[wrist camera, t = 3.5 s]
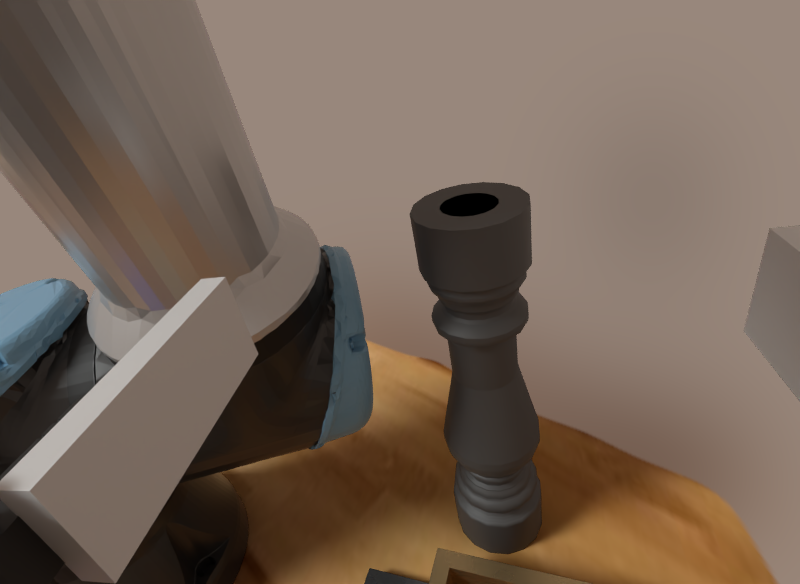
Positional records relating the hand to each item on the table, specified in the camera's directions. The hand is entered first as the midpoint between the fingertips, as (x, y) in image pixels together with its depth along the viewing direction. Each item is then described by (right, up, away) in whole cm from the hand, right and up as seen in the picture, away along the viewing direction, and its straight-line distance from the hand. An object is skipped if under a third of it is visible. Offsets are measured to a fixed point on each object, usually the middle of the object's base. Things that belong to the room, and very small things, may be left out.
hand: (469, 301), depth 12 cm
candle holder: (+6, -17, +23) cm, 29 cm away
